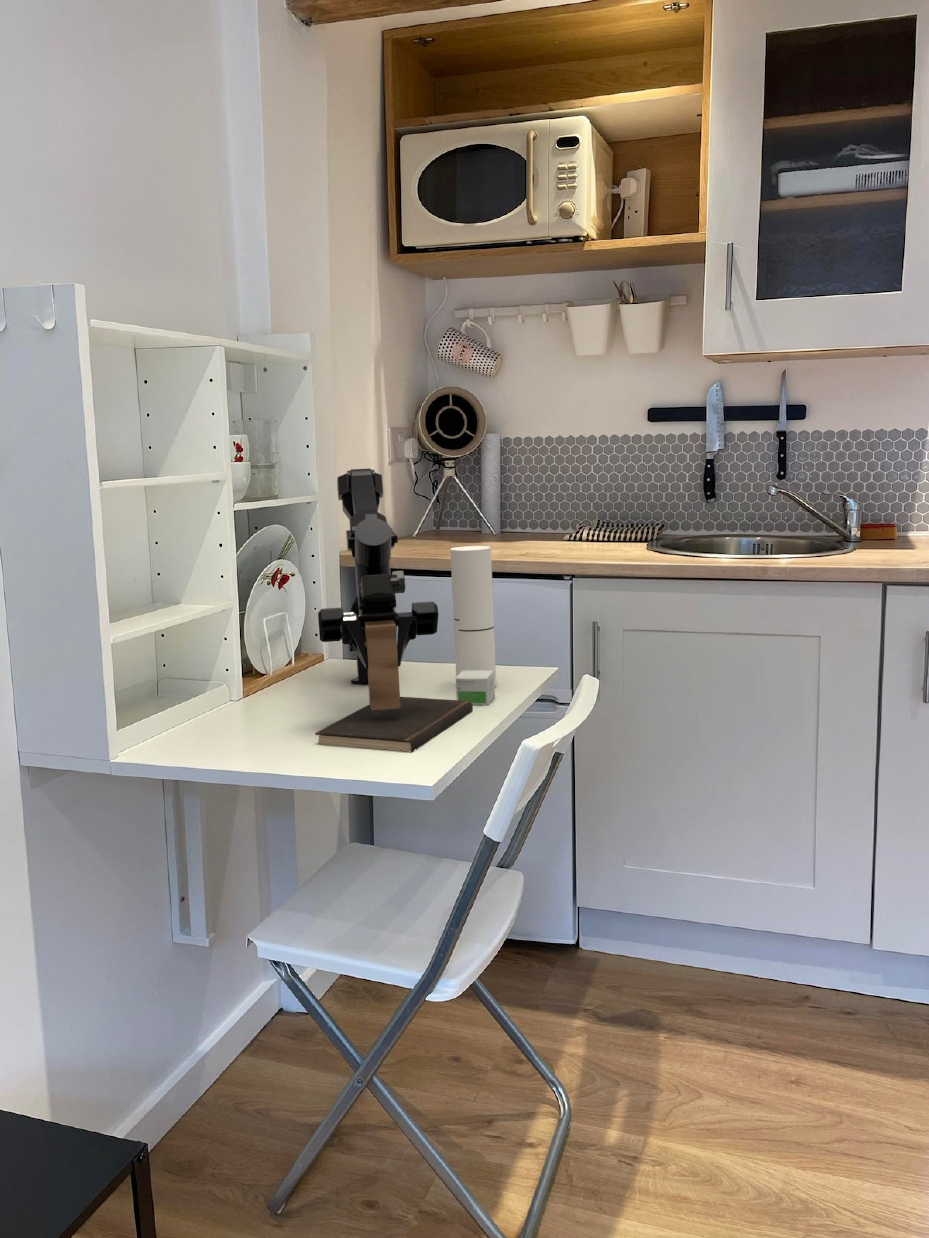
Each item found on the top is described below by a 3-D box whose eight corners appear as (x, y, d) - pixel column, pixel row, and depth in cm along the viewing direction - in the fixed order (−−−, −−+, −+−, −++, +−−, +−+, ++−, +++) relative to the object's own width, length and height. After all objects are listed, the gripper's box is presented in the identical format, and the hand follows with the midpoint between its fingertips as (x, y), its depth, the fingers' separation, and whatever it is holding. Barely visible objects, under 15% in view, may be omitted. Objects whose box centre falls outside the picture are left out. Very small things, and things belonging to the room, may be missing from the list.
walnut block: (369, 703, 162) (364, 622, 159) (398, 701, 162) (393, 620, 160) (371, 710, 157) (366, 627, 155) (400, 708, 158) (395, 625, 156)
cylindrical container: (482, 679, 190) (477, 545, 185) (503, 686, 184) (498, 547, 179) (449, 685, 186) (442, 548, 182) (469, 693, 180) (463, 551, 176)
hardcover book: (316, 747, 154) (315, 732, 153) (386, 708, 174) (385, 695, 174) (412, 756, 147) (411, 740, 147) (473, 714, 168) (472, 701, 168)
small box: (456, 705, 173) (454, 677, 172) (463, 697, 178) (462, 669, 177) (489, 706, 171) (488, 677, 170) (495, 697, 177) (494, 669, 176)
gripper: (314, 557, 158) (319, 641, 150) (434, 550, 161) (446, 632, 152) (317, 600, 167) (322, 681, 159) (430, 593, 170) (442, 672, 161)
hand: (383, 666), depth 157 cm, fingers closed on walnut block, 4 cm apart
